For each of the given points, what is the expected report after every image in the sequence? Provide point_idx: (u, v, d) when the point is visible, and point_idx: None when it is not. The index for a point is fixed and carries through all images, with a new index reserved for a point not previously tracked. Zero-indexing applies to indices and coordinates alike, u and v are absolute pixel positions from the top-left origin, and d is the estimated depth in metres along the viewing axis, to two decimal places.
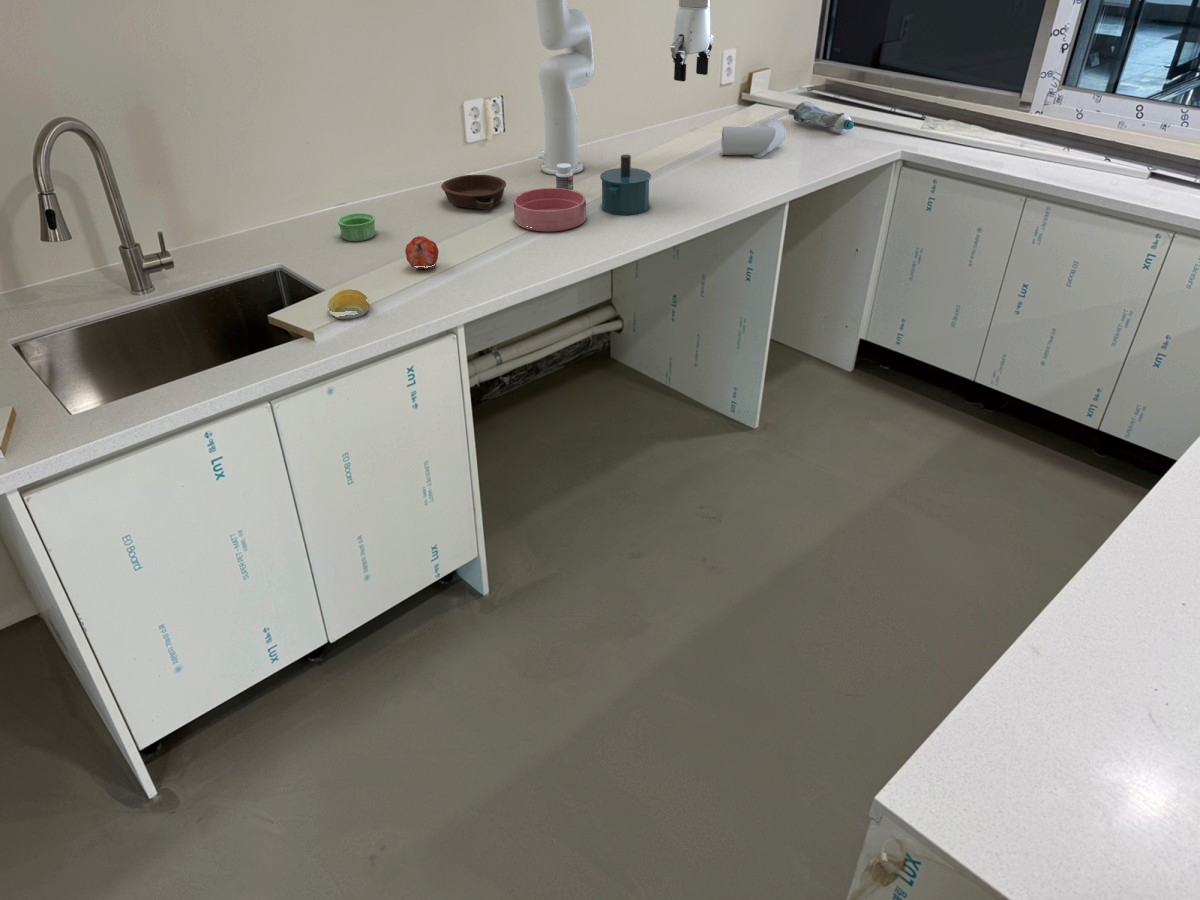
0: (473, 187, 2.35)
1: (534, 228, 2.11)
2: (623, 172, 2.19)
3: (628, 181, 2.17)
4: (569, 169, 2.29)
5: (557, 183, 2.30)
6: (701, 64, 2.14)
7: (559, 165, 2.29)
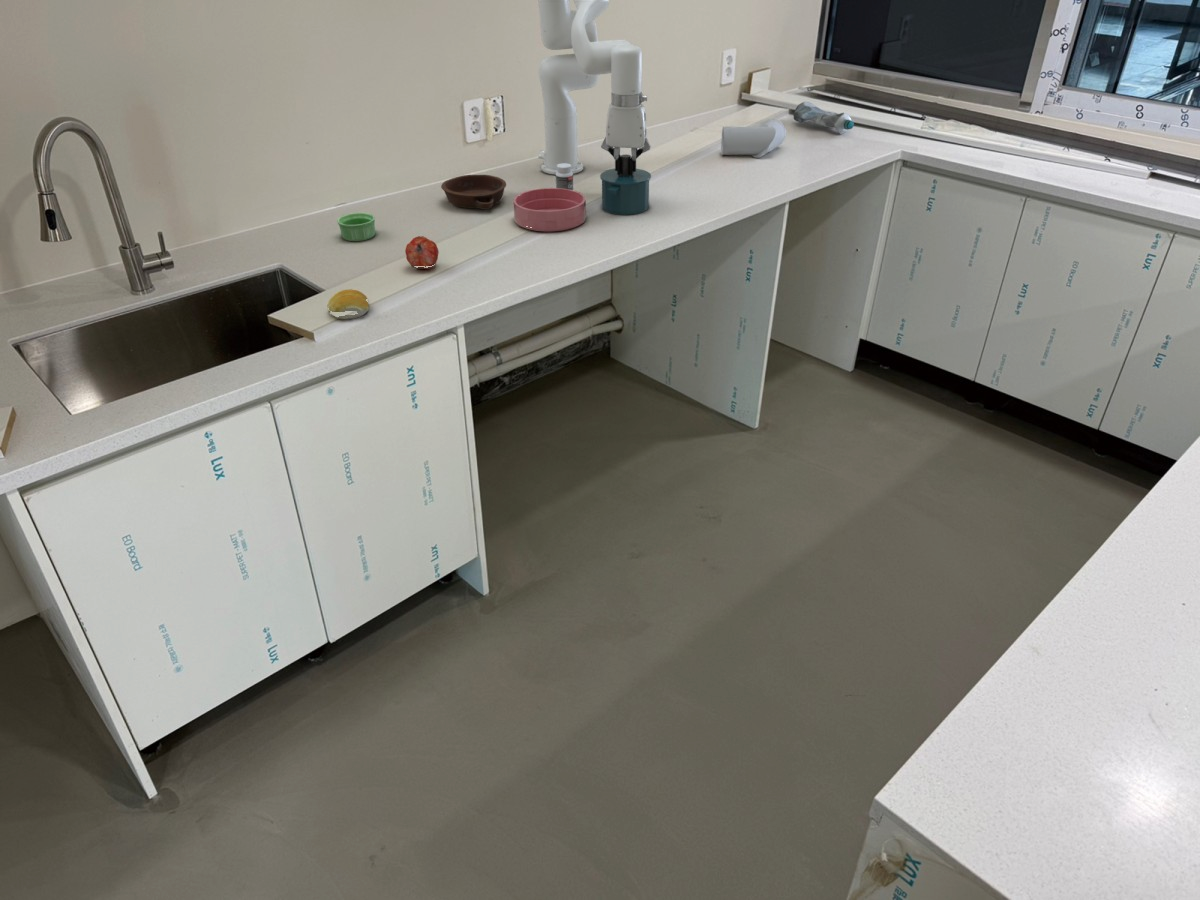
0: (473, 187, 2.35)
1: (534, 228, 2.11)
2: (623, 172, 2.19)
3: (628, 181, 2.17)
4: (569, 169, 2.29)
5: (557, 183, 2.30)
6: None
7: (559, 165, 2.29)
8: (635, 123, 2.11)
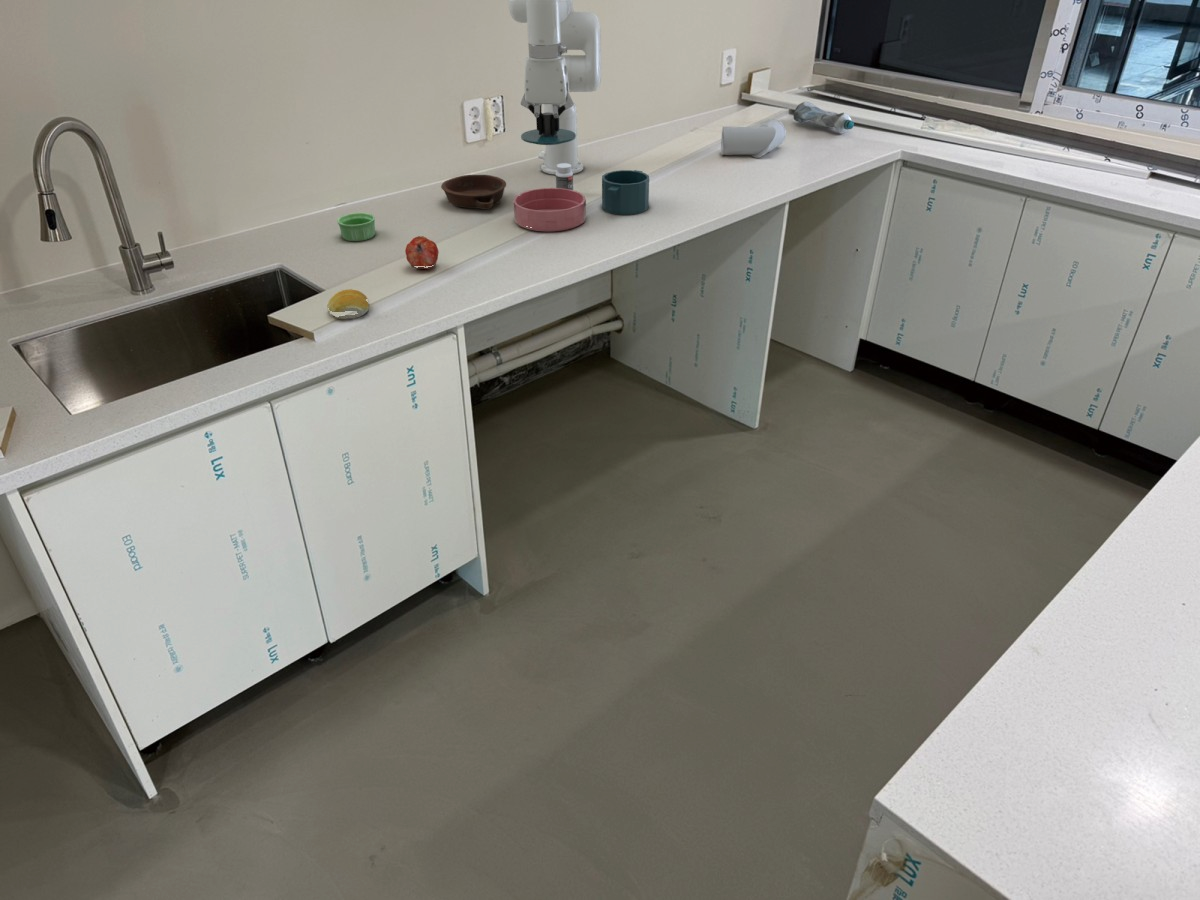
0: (473, 187, 2.35)
1: (534, 228, 2.11)
2: (545, 131, 2.04)
3: (549, 140, 2.02)
4: (569, 169, 2.29)
5: (557, 183, 2.30)
6: None
7: (559, 165, 2.29)
8: (555, 77, 1.96)
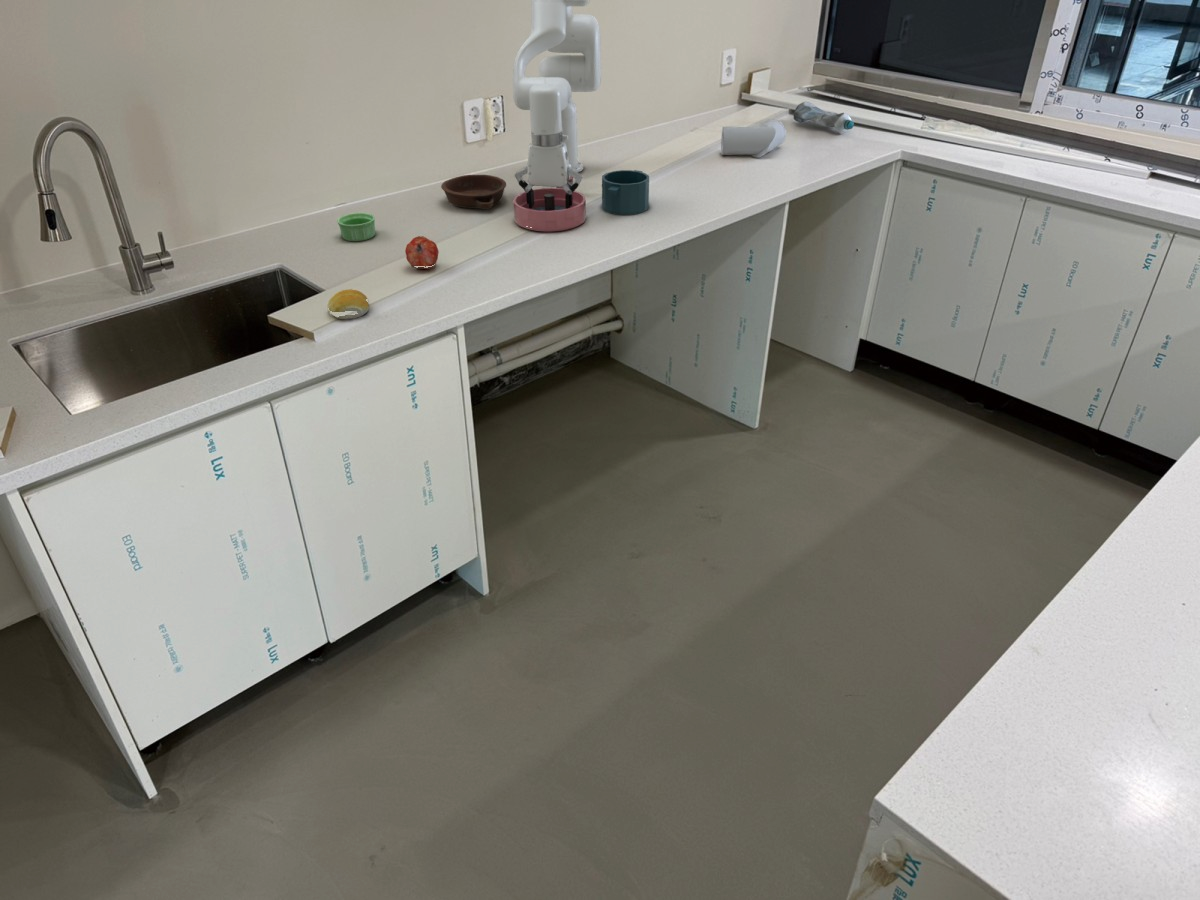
0: (473, 187, 2.35)
1: (534, 228, 2.11)
2: None
3: None
4: None
5: None
6: None
7: None
8: (556, 162, 2.07)
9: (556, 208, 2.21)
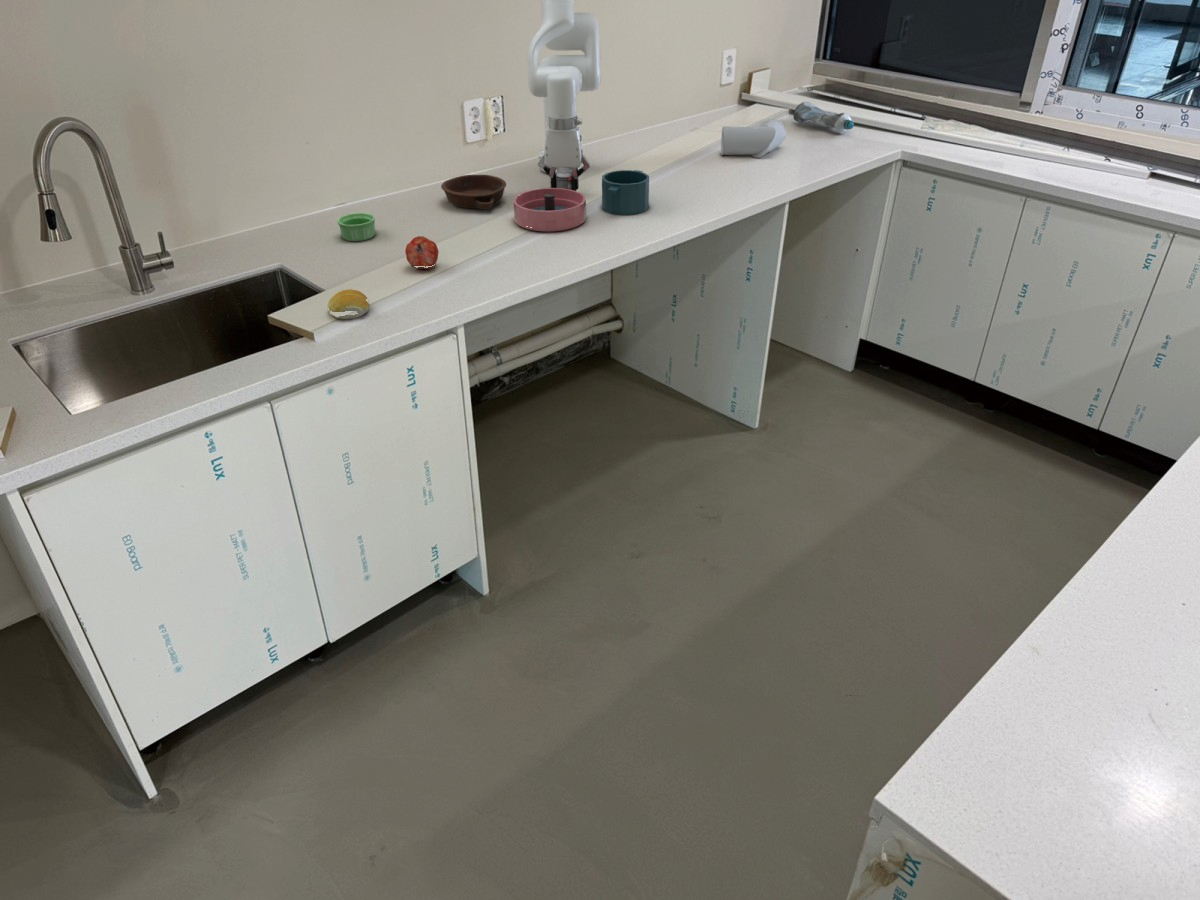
0: (473, 187, 2.35)
1: (534, 228, 2.11)
2: None
3: None
4: (570, 169, 2.29)
5: (557, 183, 2.30)
6: None
7: None
8: (571, 145, 2.23)
9: (556, 208, 2.21)
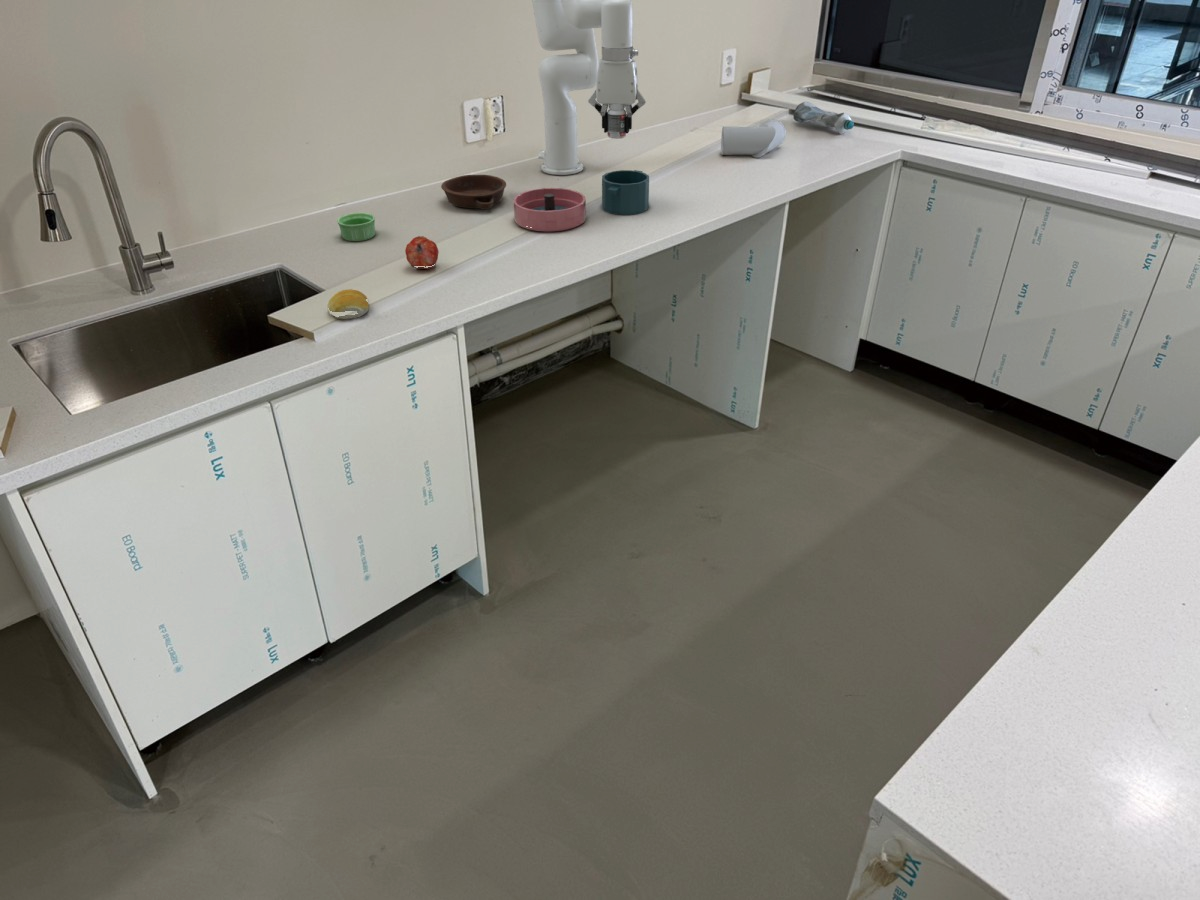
0: (473, 187, 2.35)
1: (534, 228, 2.11)
2: None
3: None
4: (623, 106, 2.11)
5: (609, 121, 2.13)
6: None
7: None
8: (626, 78, 2.06)
9: (556, 208, 2.21)
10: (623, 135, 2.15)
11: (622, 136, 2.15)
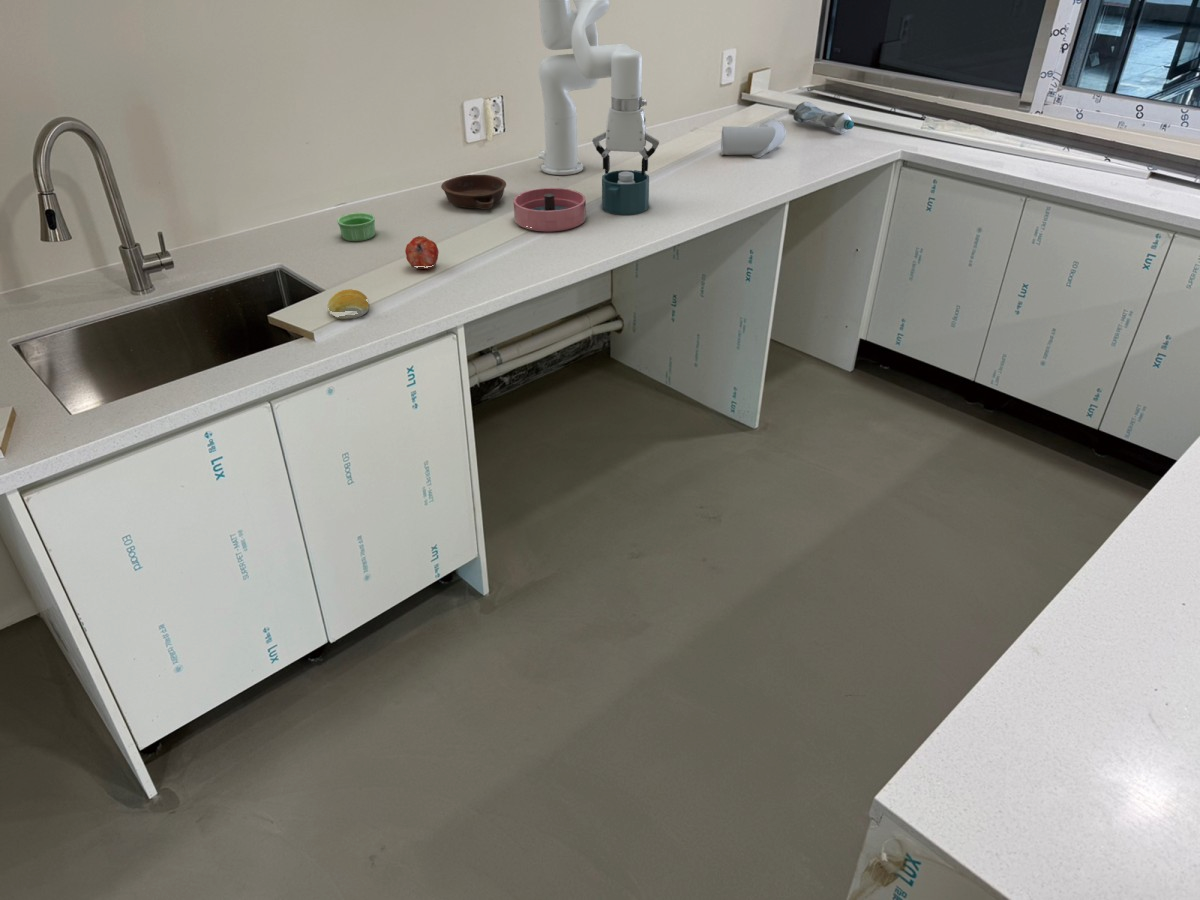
0: (473, 187, 2.35)
1: (534, 228, 2.11)
2: None
3: None
4: (632, 178, 2.20)
5: None
6: None
7: (621, 173, 2.21)
8: (635, 127, 2.12)
9: (556, 208, 2.21)
10: None
11: None
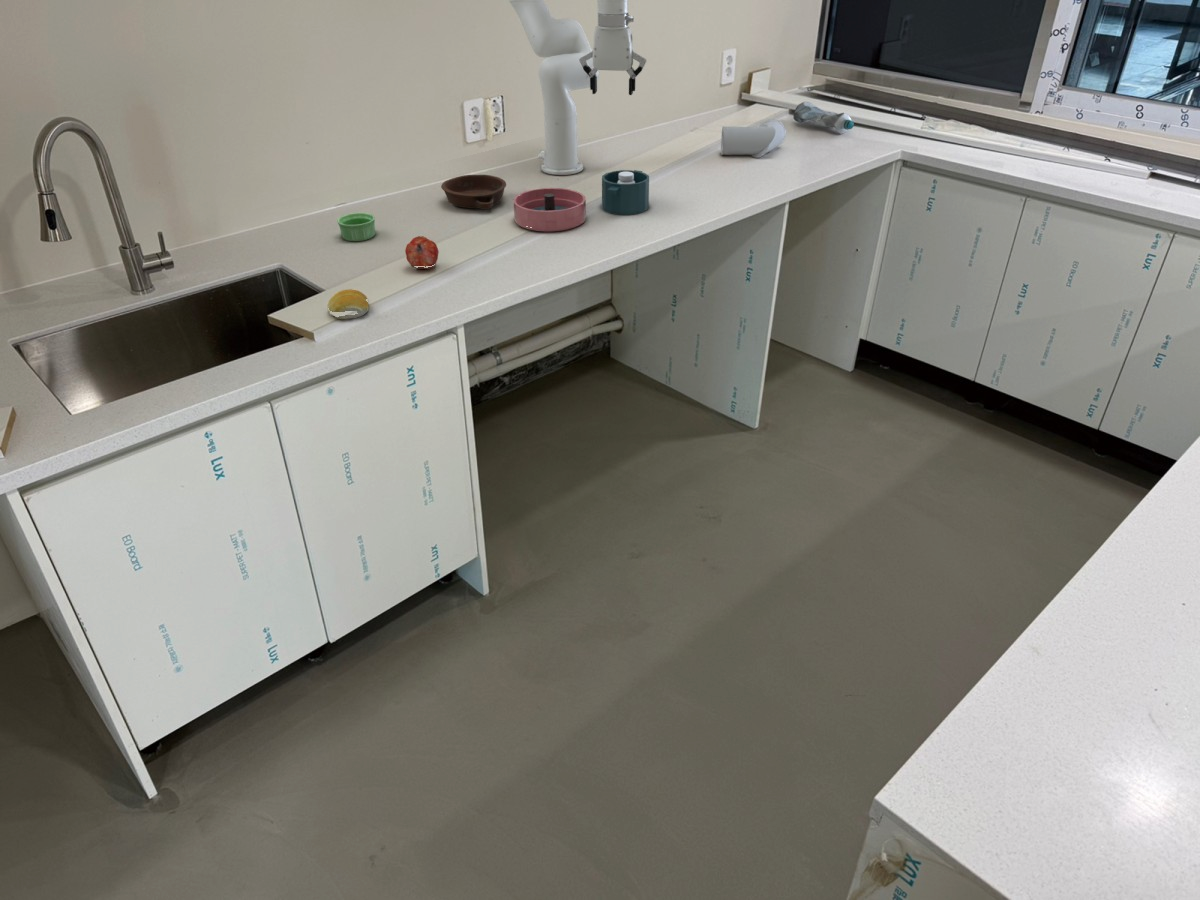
0: (473, 187, 2.35)
1: (534, 228, 2.11)
2: None
3: None
4: (632, 178, 2.20)
5: None
6: None
7: (621, 173, 2.21)
8: (622, 44, 2.11)
9: (556, 208, 2.21)
10: None
11: None
